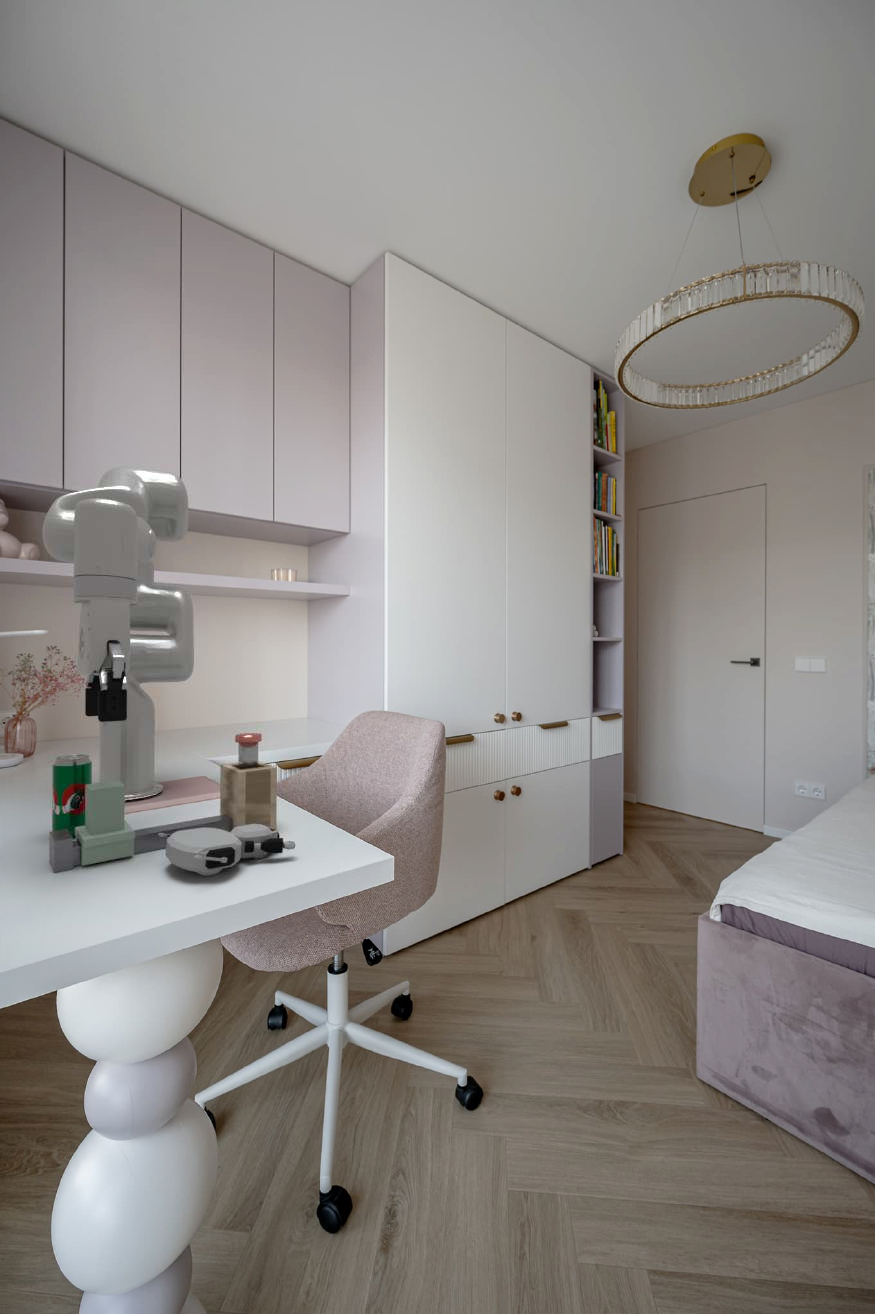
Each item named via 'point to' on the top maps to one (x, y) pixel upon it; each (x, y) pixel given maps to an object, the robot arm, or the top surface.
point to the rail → (69, 852)
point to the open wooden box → (249, 794)
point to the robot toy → (221, 847)
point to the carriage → (105, 824)
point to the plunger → (248, 750)
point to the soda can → (70, 791)
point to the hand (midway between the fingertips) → (105, 718)
